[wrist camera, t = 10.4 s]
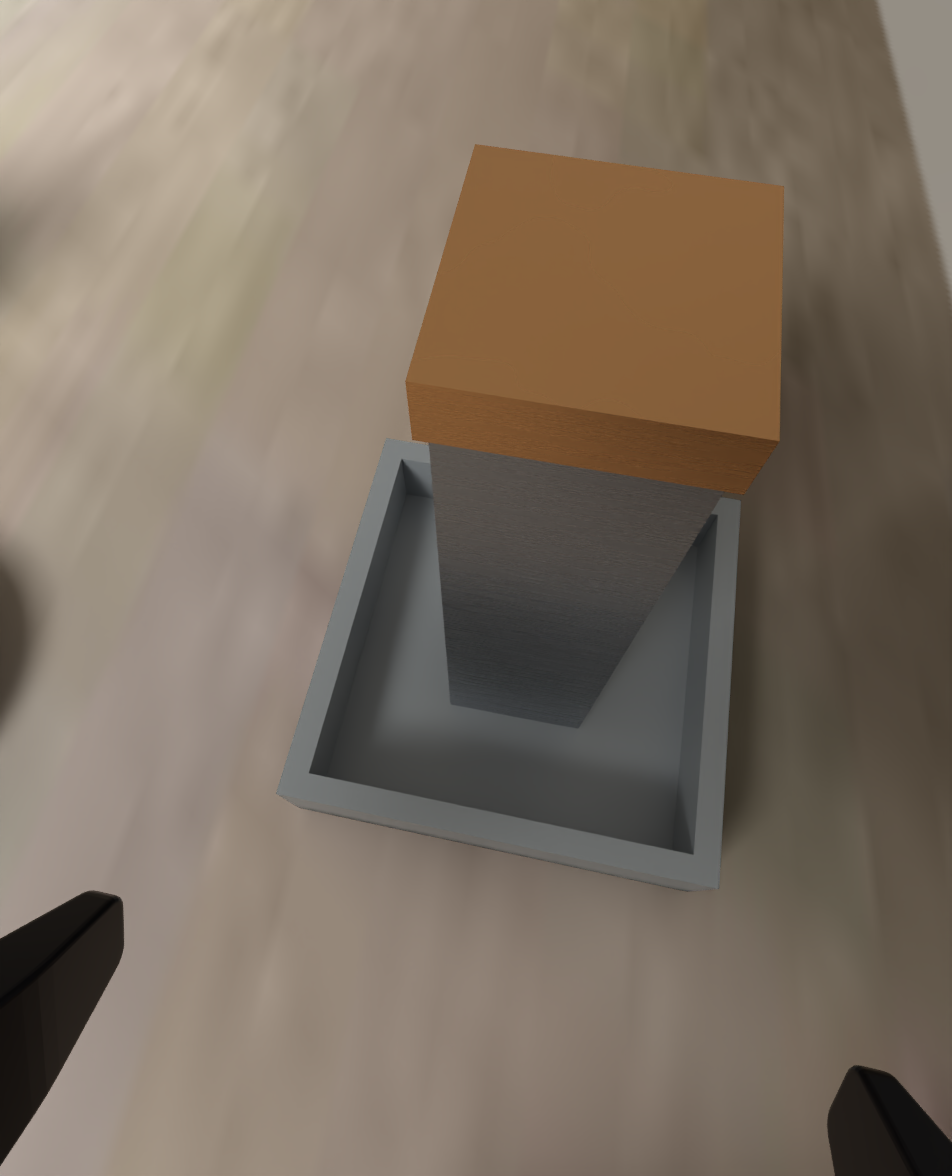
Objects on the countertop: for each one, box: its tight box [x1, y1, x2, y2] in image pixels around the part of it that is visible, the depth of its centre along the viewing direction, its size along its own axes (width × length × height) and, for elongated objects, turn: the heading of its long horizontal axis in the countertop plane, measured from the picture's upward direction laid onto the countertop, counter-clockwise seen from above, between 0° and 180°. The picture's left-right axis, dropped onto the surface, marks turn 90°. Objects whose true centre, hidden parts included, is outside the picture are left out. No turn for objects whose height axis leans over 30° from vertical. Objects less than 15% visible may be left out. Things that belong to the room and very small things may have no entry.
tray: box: [276, 438, 741, 892], centre depth 19 cm, size 10×10×2 cm
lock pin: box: [405, 144, 784, 729], centre depth 14 cm, size 4×4×13 cm
